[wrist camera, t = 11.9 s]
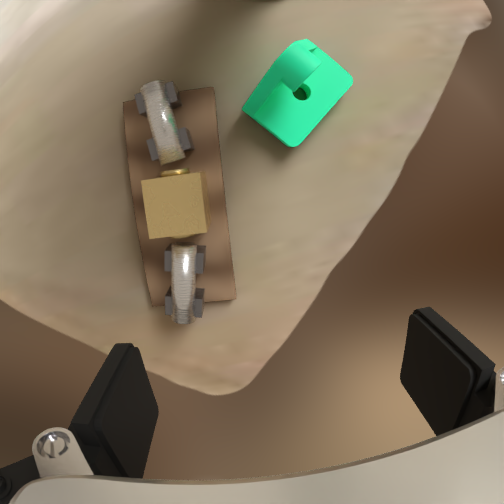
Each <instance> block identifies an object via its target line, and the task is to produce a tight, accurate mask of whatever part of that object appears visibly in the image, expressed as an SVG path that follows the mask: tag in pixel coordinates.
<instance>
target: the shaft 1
mask: <svg viewBox="0 0 504 504" xmlns="http://www.w3.org/2000/svg"><path fill="white" fill-rule="evenodd" d="M140 91H141V92H140V93H138V94H135V99H136V103H137V107H138V111H139V114H140V115H142V116H144V117H146V118H148V122H149V126H150V129H151V133H152V137H153V138H151V139H148V140H146V141H147V145H148V148H149V152H150V155H151V159H152V161H160V165H161V166H162V165H166V164H169V163H173V162H176V161H179V160H182V159H184V158H186V156H185V152H188V151H191V150H194V149H195V148H194V145H193V141H192V138H191V134H190V131H189V129H187V128H186V127H183V128H180V129H178V128H177V124H176V121H175V117H174V114H173V110H172V109H174V108H177V107H180V106H182V102H181V98H180V95H179V91H178V88H177V86H176V85H175V84H174V83H173V81H171V82H168V83H165V81H164V80H157V81H152V82H149V83H147V84H145V85H143V86H142V87H141V88H140Z"/></svg>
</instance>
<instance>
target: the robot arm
mask: <svg viewBox="0 0 504 504" xmlns="http://www.w3.org/2000/svg"><path fill="white" fill-rule="evenodd" d="M494 367H495V363H494V362H492V361H491V360H490V359H489V358H488V357H487V356H486V355H485V354H484V353H483V352H481V351H480V350H479V349H478V348H477V347H476V346H475V345H474V344H473V343H471V342H470V341H469V340H468V339H467V338H466V337H465V336H463V335H462V334H461V333H460V332H459V331H458V330H457V329H455V328H454V327H453V326H452V325H451V324H449V323H448V322H447V321H446V320H445V319H444V318H443V317H441V316H440V315H439V314H438V313H437V312H435V311H434V310H433V309H432V308H430V307H426V308H421V309H416V310H414V312H413V314H411V315H410V317H409V323H408V330H407V337H406V344H405V350H404V357H403V362H402V368H401V373H400V380H401V383H402V385H403V386H404V388H405V389H406V390H407V392H408V394H409V395H410V397H411V398H412V400H413V401H414V402H415V404H416V406H417V407H418V409H419V410H420V412H421V413H422V415H423V416H424V418H425V419H426V421H427V422H428V423H429V425H430V427H431V428H432V430H433V431H434V433H435V434H436V437H434V438H431V439H428V440H425V441H422V442H419V443H416V444H414V445H411V446H407V447H404V448H401V449H398V450H395V451H391V452H388V453H384V454H381V455H377V456H374V457H370V458H366V459H362V460H358V461H354V462H350V463H346V464H341V465H336V466H331V467H326V468H321V469H315V470H310V471H304V472H298V473H291V474H283V475H275V476H267V477H255V478H244V479H227V480H157V479H142V478H143V474H144V470H145V466H146V462H147V458H148V453H149V449H150V445H151V441H152V437H153V433H154V429H155V426H156V421H157V418H158V406H157V402H156V400H155V397H154V394H153V391H152V388H151V385H150V383H149V379H148V376H147V373H146V370H145V367H144V364H143V360H142V357H141V354H140V351H139V349H138V348H137V347H134V346H133V344H132V343H118V344H115V345H114V347H113V348H112V350H111V352H110V353H109V355H108V357H107V358H106V360H105V362H104V364H103V365H102V367H101V369H100V370H99V372H98V374H97V376H96V377H95V379H94V381H93V383H92V384H91V387H90V388H89V390H88V392H87V393H86V395H85V397H84V399H83V401H82V402H81V405H80V406H79V408H78V410H77V412H76V413H75V415H74V417H73V419H72V421H71V424H70V426H69V428H68V430H67V429H65V428H51V429H48V430H46V431H44V432H42V433H41V434H40V435H38V436H37V437H36V439H35V440H34V443H33V446H32V450H33V455H32V456H30V457H27V458H25V459H23V460H20V461H18V462H16V463H13V464H11V465H8V466H6V467H4V468H1V469H0V504H504V367H503V368H502V369H500V370H499V371H498V372H497V373H495V372H494V371H493V370H494Z"/></svg>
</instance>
